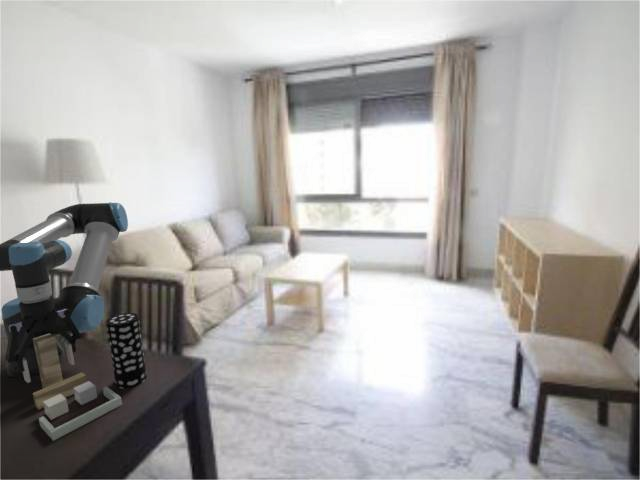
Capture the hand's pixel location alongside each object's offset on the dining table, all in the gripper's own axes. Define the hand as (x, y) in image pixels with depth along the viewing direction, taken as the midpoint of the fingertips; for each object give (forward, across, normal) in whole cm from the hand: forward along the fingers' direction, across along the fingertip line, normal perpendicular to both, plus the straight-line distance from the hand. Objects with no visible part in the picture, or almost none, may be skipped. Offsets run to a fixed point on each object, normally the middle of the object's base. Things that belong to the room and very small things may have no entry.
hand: (50, 371), depth 106 cm
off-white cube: (+6, -4, -13) cm, 15 cm away
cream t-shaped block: (+5, 0, -3) cm, 6 cm away
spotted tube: (+6, +15, -15) cm, 22 cm away
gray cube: (+6, +4, -13) cm, 15 cm away
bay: (+6, 0, -20) cm, 20 cm away
